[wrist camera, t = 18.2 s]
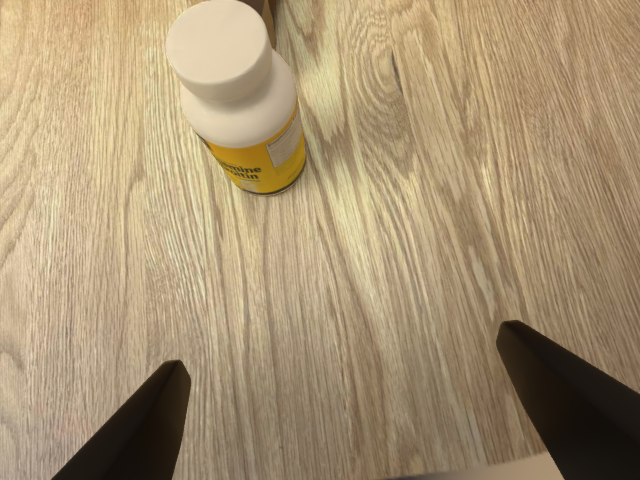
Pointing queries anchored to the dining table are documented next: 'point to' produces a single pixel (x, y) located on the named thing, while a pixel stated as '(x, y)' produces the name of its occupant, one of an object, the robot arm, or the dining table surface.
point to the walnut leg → (265, 15)
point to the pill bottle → (238, 94)
